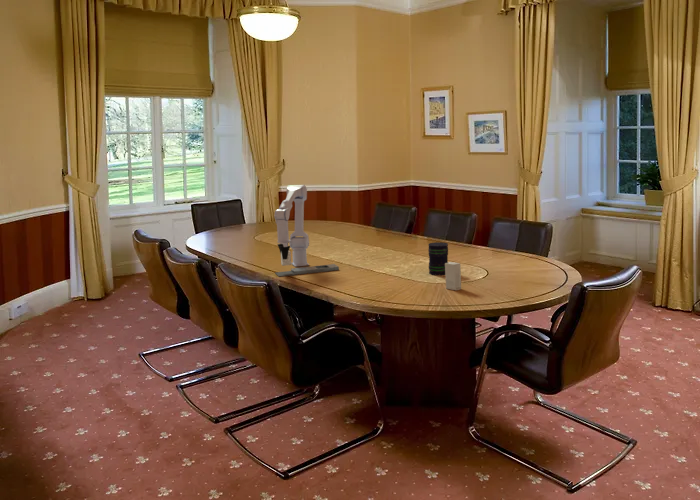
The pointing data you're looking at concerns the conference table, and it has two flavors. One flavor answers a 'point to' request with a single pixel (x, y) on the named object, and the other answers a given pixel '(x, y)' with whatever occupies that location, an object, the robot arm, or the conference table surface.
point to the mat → (284, 273)
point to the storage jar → (437, 258)
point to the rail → (315, 269)
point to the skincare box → (453, 276)
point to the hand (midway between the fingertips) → (284, 258)
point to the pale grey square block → (286, 261)
